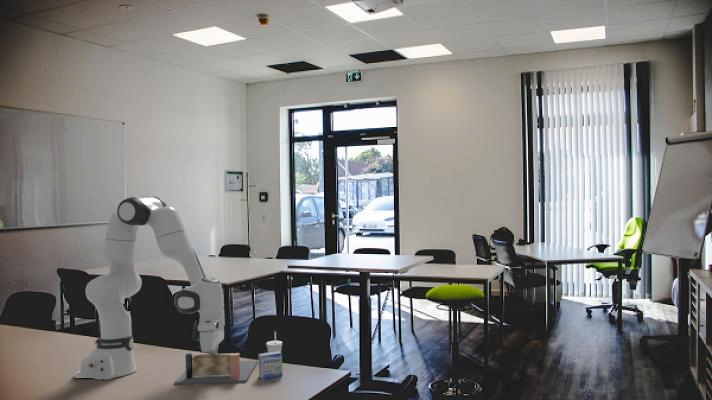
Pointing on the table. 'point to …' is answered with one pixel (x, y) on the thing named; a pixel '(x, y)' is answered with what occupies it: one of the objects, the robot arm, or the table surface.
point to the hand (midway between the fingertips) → (214, 358)
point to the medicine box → (270, 364)
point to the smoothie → (274, 345)
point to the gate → (211, 364)
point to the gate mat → (220, 376)
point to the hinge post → (189, 366)
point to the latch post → (234, 366)
